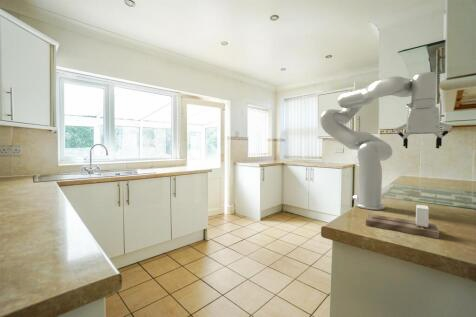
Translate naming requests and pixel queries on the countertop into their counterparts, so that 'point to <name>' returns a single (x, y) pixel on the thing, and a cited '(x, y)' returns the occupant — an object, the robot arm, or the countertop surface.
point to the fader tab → (422, 215)
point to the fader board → (402, 225)
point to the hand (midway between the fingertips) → (421, 148)
